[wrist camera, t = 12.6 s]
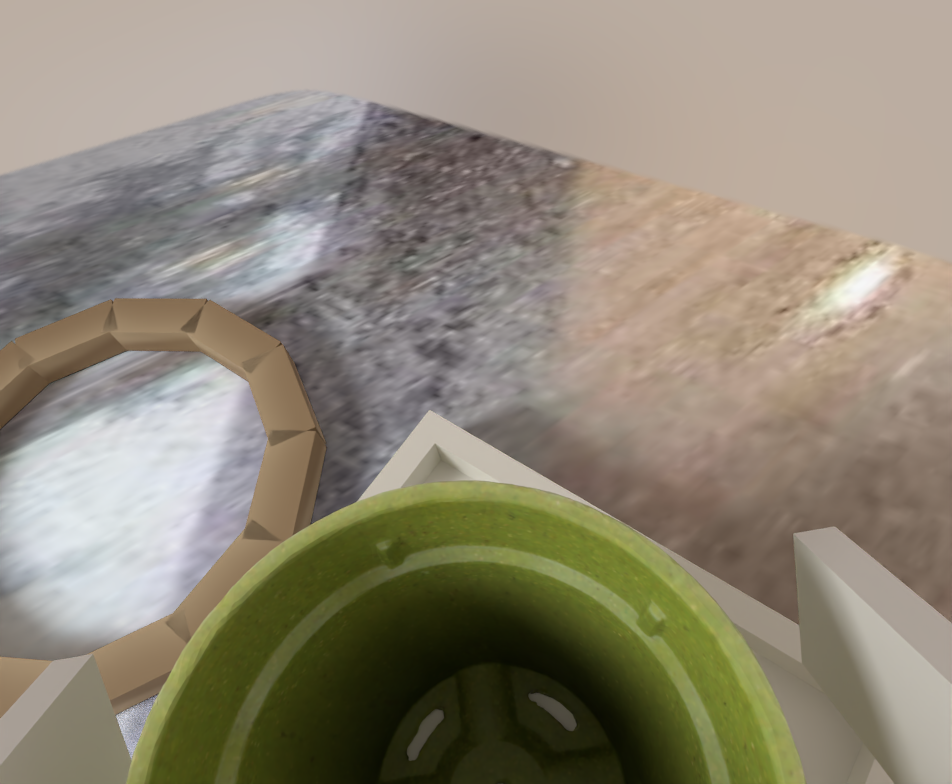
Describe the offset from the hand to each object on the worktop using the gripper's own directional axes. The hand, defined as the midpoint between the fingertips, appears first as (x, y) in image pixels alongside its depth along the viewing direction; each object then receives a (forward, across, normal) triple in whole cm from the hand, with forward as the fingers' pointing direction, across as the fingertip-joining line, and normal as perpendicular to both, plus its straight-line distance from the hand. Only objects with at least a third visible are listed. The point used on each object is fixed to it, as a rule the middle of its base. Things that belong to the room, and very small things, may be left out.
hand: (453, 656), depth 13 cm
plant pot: (+3, 0, -6) cm, 7 cm away
